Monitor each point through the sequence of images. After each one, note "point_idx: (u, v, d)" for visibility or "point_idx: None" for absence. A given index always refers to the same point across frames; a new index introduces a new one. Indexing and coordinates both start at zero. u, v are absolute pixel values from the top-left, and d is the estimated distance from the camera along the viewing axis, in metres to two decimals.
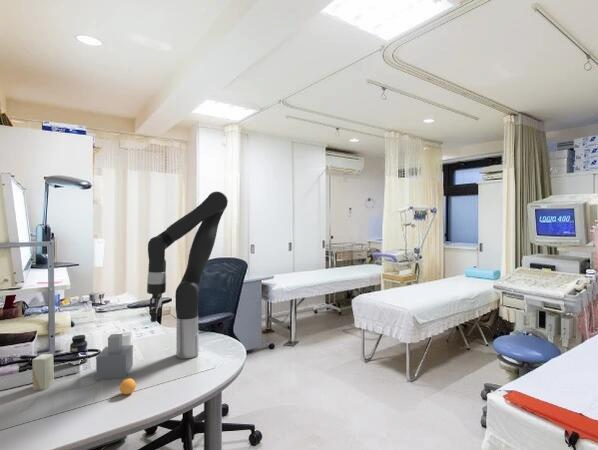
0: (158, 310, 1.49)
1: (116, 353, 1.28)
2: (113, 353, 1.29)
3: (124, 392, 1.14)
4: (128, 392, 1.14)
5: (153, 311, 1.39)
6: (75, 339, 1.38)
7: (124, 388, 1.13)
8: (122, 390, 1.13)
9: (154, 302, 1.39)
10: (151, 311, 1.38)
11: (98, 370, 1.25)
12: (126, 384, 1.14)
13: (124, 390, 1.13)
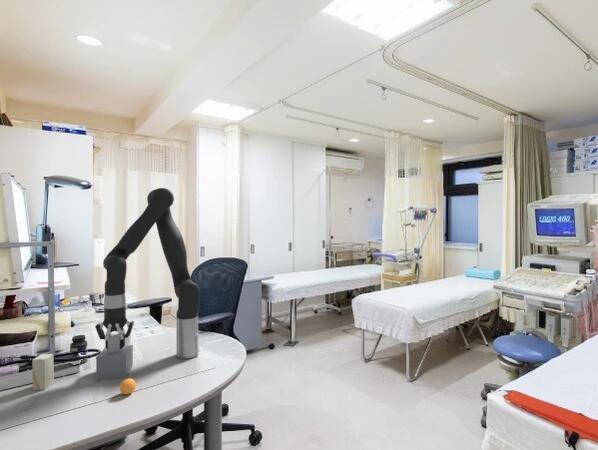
0: None
1: (116, 353, 1.28)
2: (113, 353, 1.29)
3: (124, 392, 1.14)
4: (128, 392, 1.14)
5: (129, 334, 1.32)
6: (75, 339, 1.38)
7: (124, 388, 1.13)
8: (122, 390, 1.13)
9: (132, 325, 1.33)
10: (128, 335, 1.32)
11: (98, 370, 1.25)
12: (126, 384, 1.14)
13: (124, 390, 1.13)
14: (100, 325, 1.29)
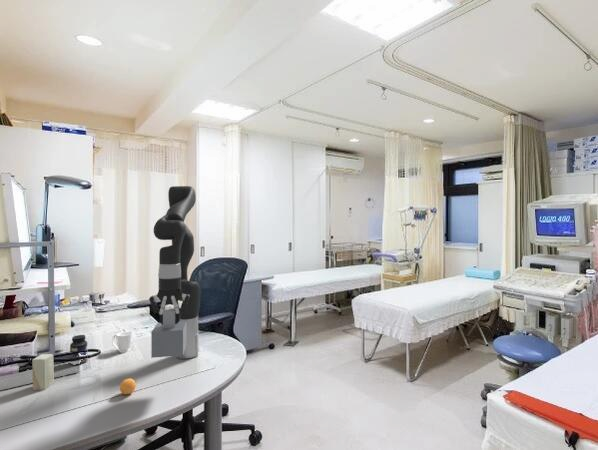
0: None
1: (172, 328, 1.16)
2: (169, 328, 1.17)
3: (124, 392, 1.14)
4: (128, 392, 1.14)
5: None
6: (75, 339, 1.38)
7: (124, 388, 1.13)
8: (122, 390, 1.13)
9: (188, 299, 1.21)
10: (184, 309, 1.20)
11: (153, 346, 1.13)
12: (126, 384, 1.14)
13: (124, 390, 1.13)
14: (154, 297, 1.17)
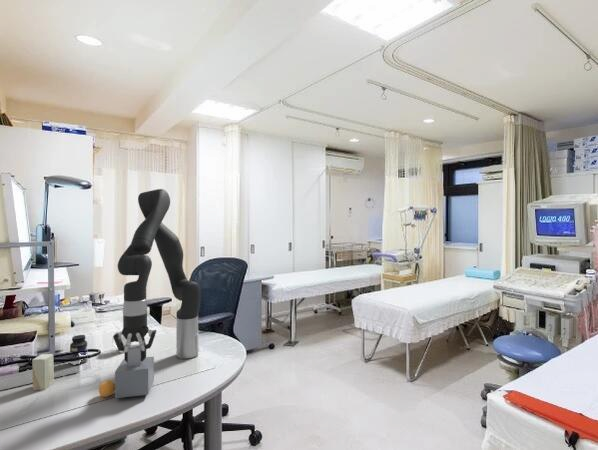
0: None
1: (137, 367, 1.13)
2: (134, 366, 1.14)
3: (108, 390, 1.12)
4: (105, 387, 1.12)
5: (151, 345, 1.18)
6: (75, 339, 1.38)
7: (105, 394, 1.12)
8: (108, 392, 1.12)
9: None
10: (150, 345, 1.17)
11: (117, 386, 1.10)
12: (102, 395, 1.12)
13: (106, 392, 1.12)
14: (119, 335, 1.14)
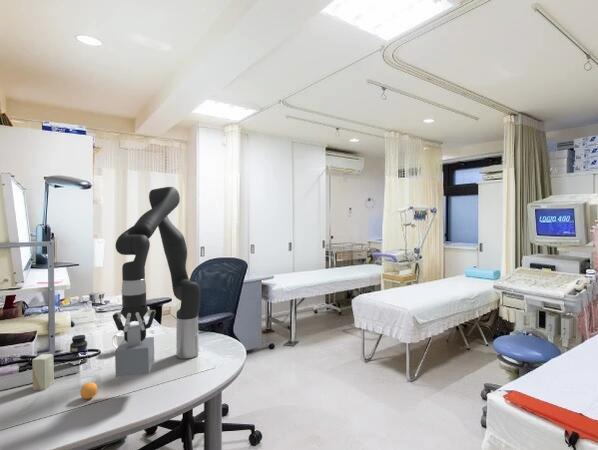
0: None
1: (137, 346, 1.13)
2: (134, 346, 1.14)
3: (83, 392, 1.11)
4: (82, 396, 1.11)
5: (150, 324, 1.17)
6: (75, 339, 1.38)
7: (88, 392, 1.11)
8: (85, 390, 1.11)
9: (154, 315, 1.18)
10: None
11: (117, 365, 1.10)
12: (92, 392, 1.11)
13: (85, 393, 1.10)
14: (118, 314, 1.14)
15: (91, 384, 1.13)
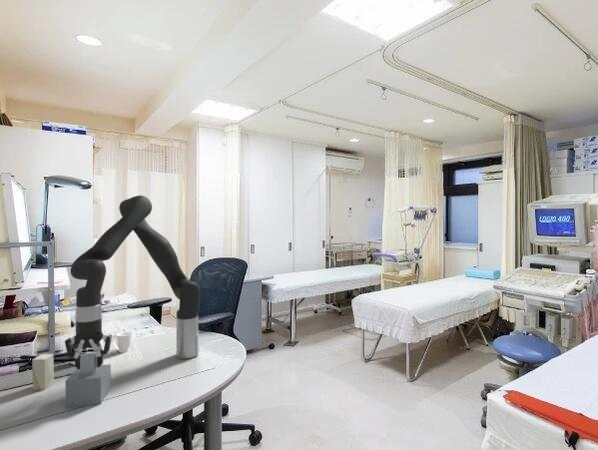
0: None
1: (89, 376, 1.10)
2: (87, 375, 1.11)
3: None
4: None
5: (108, 350, 1.14)
6: None
7: None
8: None
9: (110, 340, 1.15)
10: (107, 351, 1.14)
11: (68, 396, 1.07)
12: None
13: None
14: (71, 340, 1.11)
15: None
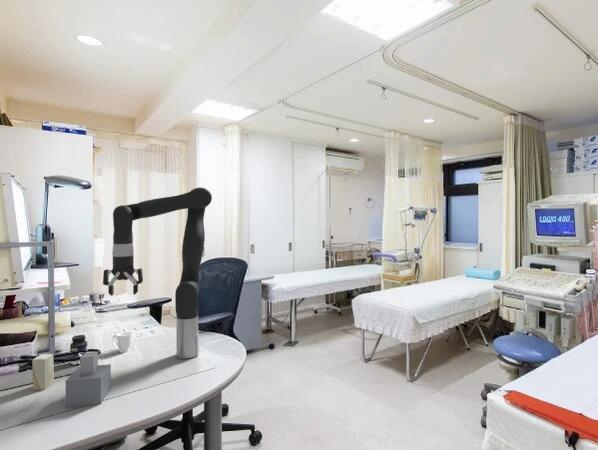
0: (113, 288, 1.35)
1: (89, 376, 1.10)
2: (87, 375, 1.11)
3: None
4: None
5: (142, 281, 1.37)
6: (75, 339, 1.38)
7: None
8: None
9: (141, 272, 1.37)
10: (141, 281, 1.36)
11: (68, 396, 1.07)
12: None
13: None
14: (108, 271, 1.33)
15: None
